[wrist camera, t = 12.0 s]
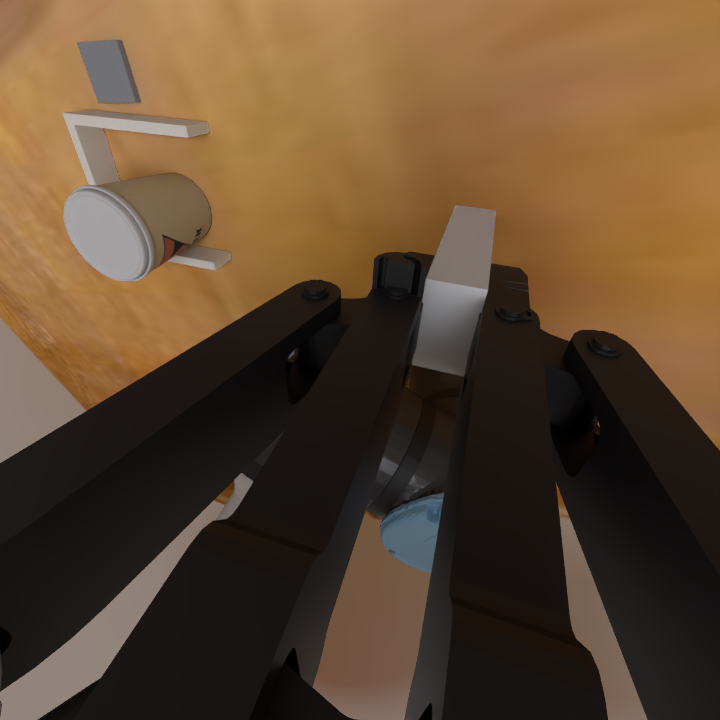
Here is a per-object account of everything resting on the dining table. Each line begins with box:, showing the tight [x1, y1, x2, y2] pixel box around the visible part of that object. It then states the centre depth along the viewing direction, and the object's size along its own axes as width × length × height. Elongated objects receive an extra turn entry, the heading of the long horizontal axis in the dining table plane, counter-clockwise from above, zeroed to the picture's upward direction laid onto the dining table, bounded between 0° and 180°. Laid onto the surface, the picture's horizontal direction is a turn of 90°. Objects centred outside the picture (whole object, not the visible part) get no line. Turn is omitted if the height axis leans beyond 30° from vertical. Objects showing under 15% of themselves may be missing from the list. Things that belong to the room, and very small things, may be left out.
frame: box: [63, 110, 231, 270], centre depth 45 cm, size 15×15×4 cm
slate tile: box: [77, 40, 141, 103], centre depth 40 cm, size 5×5×1 cm
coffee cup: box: [63, 173, 211, 281], centre depth 42 cm, size 9×9×12 cm
